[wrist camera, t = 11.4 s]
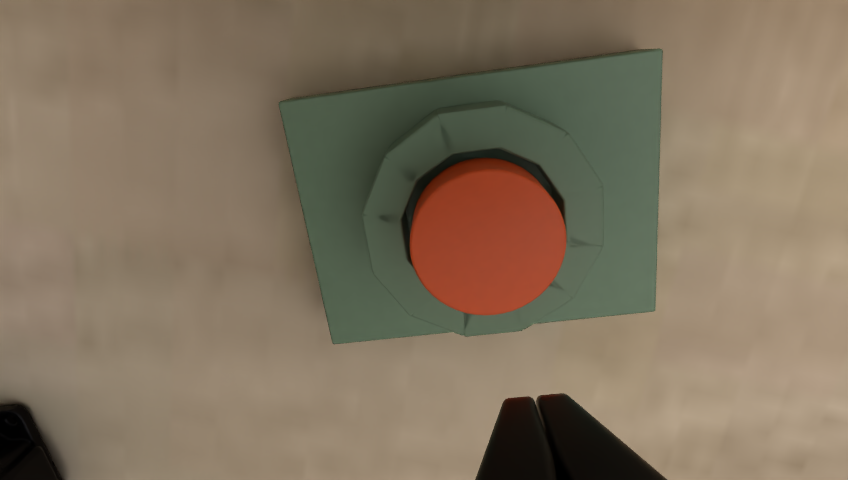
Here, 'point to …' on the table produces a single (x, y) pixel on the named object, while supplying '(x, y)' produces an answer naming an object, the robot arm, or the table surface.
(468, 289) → the switch button
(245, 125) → the table surface
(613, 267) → the switch box
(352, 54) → the table surface
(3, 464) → the robot arm
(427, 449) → the table surface
